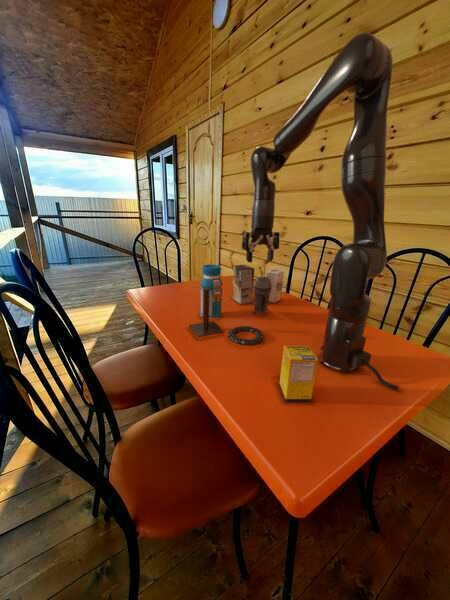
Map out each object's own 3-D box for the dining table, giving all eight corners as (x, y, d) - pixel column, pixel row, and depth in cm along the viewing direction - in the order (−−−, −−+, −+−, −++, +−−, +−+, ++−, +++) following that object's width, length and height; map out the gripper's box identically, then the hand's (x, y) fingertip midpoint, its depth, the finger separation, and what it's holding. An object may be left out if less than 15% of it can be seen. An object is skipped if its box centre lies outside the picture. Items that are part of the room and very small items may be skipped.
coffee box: (252, 302, 117) (255, 268, 111) (240, 304, 114) (242, 269, 109) (243, 296, 124) (245, 264, 119) (231, 298, 122) (232, 265, 116)
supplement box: (302, 384, 62) (309, 345, 58) (311, 402, 56) (319, 359, 53) (278, 384, 62) (283, 344, 58) (284, 402, 56) (290, 359, 52)
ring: (271, 344, 80) (272, 337, 80) (238, 351, 75) (239, 344, 75) (251, 329, 90) (252, 322, 90) (221, 334, 85) (221, 328, 85)
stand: (223, 335, 85) (224, 291, 80) (198, 340, 81) (198, 294, 76) (212, 324, 93) (213, 283, 88) (189, 328, 89) (188, 286, 84)
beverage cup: (268, 311, 108) (273, 264, 101) (269, 317, 101) (274, 268, 94) (251, 309, 108) (254, 263, 102) (251, 316, 101) (255, 267, 95)
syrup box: (270, 297, 125) (273, 268, 120) (280, 300, 121) (284, 270, 116) (263, 300, 121) (266, 270, 116) (274, 303, 117) (278, 272, 112)
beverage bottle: (198, 320, 96) (198, 268, 90) (201, 311, 104) (201, 263, 98) (220, 321, 96) (222, 269, 89) (221, 312, 104) (223, 264, 97)
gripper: (250, 213, 81) (248, 264, 86) (286, 215, 87) (282, 262, 92) (239, 213, 87) (237, 260, 92) (273, 214, 93) (269, 259, 98)
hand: (259, 261), depth 92 cm, fingers open, 8 cm apart
